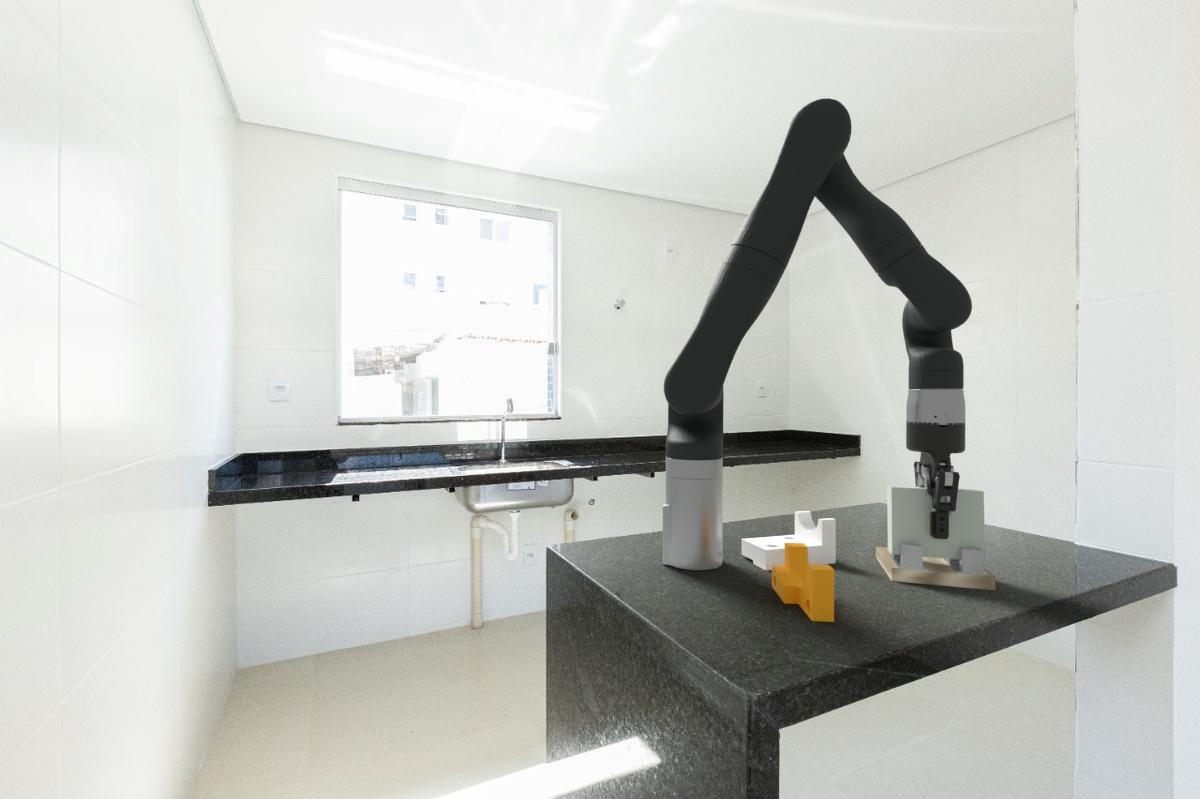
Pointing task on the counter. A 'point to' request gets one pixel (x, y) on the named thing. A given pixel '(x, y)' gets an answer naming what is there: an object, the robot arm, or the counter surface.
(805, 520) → the bracket
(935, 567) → the wooden base board
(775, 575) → the orange stepped block
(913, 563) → the grey slotted panel holder
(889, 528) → the door
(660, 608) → the counter surface
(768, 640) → the counter surface
